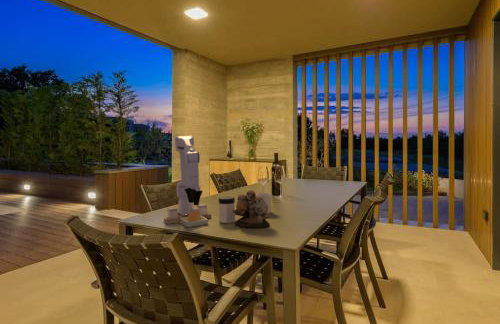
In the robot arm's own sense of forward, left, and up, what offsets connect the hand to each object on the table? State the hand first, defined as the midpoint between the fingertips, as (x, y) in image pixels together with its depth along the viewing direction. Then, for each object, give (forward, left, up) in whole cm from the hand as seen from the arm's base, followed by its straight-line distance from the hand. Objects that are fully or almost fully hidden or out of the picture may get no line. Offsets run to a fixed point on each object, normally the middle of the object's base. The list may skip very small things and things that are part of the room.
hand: (193, 203), depth 152 cm
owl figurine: (+19, +22, -10) cm, 31 cm away
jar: (+5, +16, -10) cm, 19 cm away
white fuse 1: (-9, -8, -10) cm, 16 cm away
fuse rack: (-9, 0, -10) cm, 14 cm away
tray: (0, 0, -10) cm, 10 cm away
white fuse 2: (-9, +8, -10) cm, 16 cm away
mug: (-2, +40, -10) cm, 41 cm away
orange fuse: (0, 0, -9) cm, 9 cm away
